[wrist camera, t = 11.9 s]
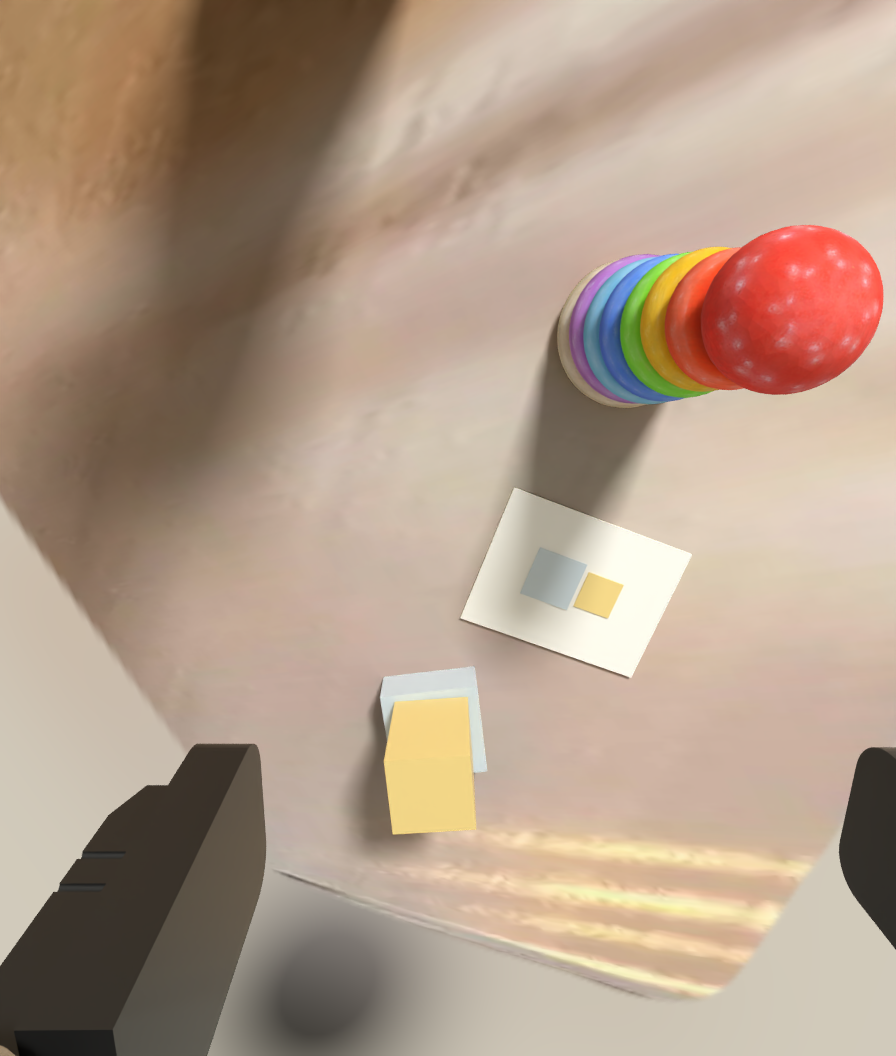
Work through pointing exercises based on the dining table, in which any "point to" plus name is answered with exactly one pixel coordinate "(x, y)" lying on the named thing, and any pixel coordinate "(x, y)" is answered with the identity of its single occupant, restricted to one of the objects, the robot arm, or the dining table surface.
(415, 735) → the ochre brick
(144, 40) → the dining table surface
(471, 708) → the base brick
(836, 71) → the dining table surface
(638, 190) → the dining table surface
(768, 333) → the stacking toy
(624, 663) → the page
